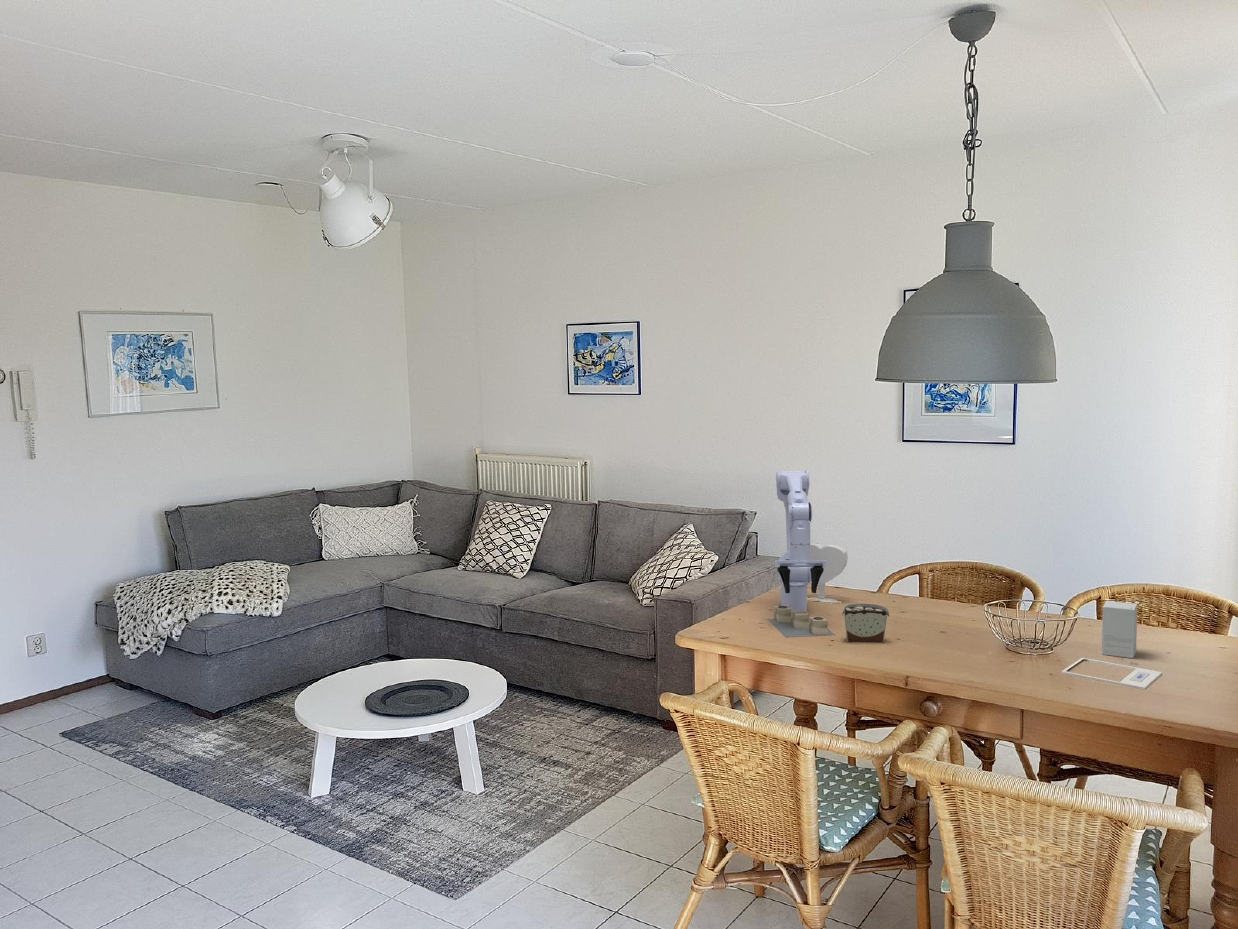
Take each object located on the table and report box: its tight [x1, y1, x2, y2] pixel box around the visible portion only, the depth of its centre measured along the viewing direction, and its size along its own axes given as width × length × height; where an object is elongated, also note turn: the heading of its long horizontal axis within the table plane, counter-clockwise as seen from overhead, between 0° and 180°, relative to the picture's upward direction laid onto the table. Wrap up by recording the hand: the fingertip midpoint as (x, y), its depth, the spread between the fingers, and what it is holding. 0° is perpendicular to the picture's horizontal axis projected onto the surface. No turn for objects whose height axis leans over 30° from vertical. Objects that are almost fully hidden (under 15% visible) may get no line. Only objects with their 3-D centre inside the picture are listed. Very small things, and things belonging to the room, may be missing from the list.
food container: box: [841, 603, 890, 644], centre depth 256 cm, size 12×6×10 cm, turn 84°
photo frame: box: [1061, 657, 1163, 690], centre depth 227 cm, size 15×1×18 cm
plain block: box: [791, 611, 810, 629], centre depth 269 cm, size 4×4×4 cm
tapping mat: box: [766, 617, 836, 639], centre depth 270 cm, size 20×14×1 cm
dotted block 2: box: [809, 616, 829, 635], centre depth 263 cm, size 4×4×4 cm
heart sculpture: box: [808, 543, 849, 603], centre depth 302 cm, size 16×5×18 cm, turn 61°
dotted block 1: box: [773, 605, 792, 623], centre depth 276 cm, size 4×4×4 cm
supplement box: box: [1101, 600, 1138, 659], centre depth 243 cm, size 7×7×13 cm
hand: (800, 593), depth 269 cm, fingers open, 7 cm apart
